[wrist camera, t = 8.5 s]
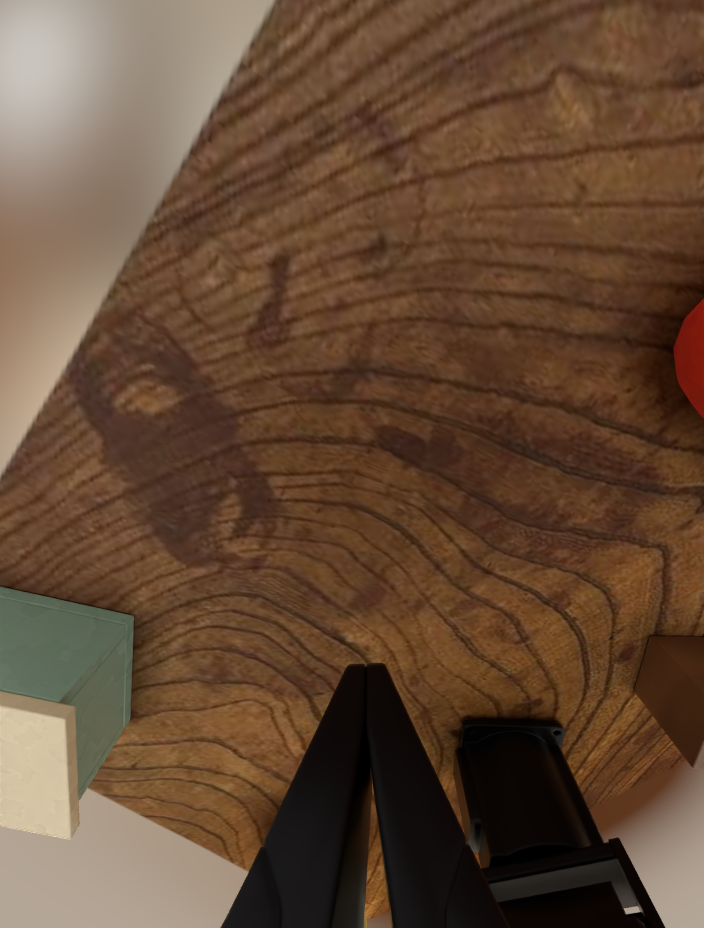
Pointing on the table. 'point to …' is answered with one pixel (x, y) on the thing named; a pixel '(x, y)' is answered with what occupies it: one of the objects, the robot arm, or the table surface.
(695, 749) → the block
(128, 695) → the green boxy piece
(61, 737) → the lid
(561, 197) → the table surface
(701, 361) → the apple
